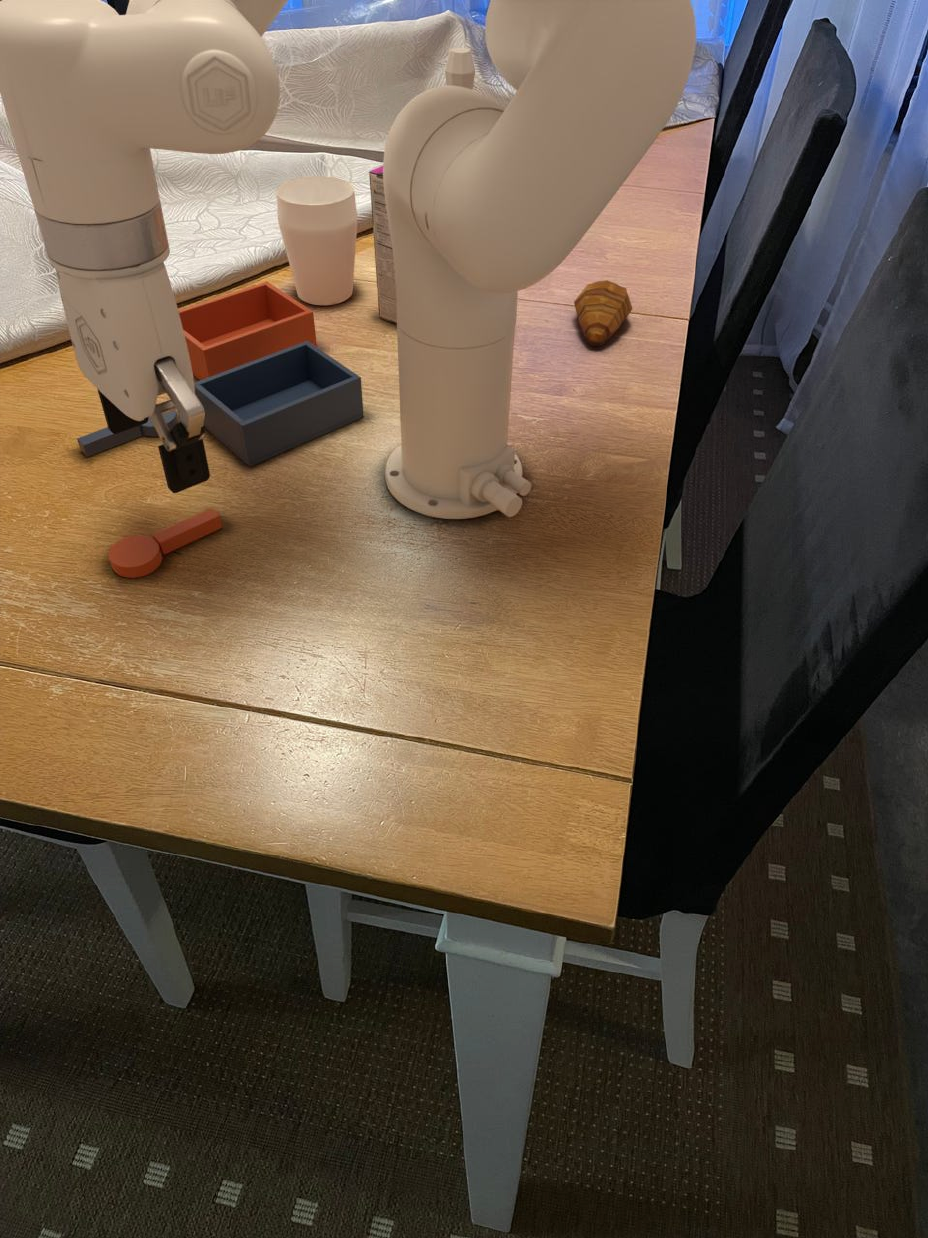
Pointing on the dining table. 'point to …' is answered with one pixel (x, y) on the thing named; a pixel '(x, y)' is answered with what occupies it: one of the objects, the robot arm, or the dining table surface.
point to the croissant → (602, 310)
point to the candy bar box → (383, 249)
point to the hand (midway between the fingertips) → (158, 454)
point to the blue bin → (279, 401)
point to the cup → (319, 236)
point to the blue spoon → (121, 435)
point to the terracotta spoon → (159, 544)
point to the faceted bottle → (460, 68)
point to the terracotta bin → (243, 328)
